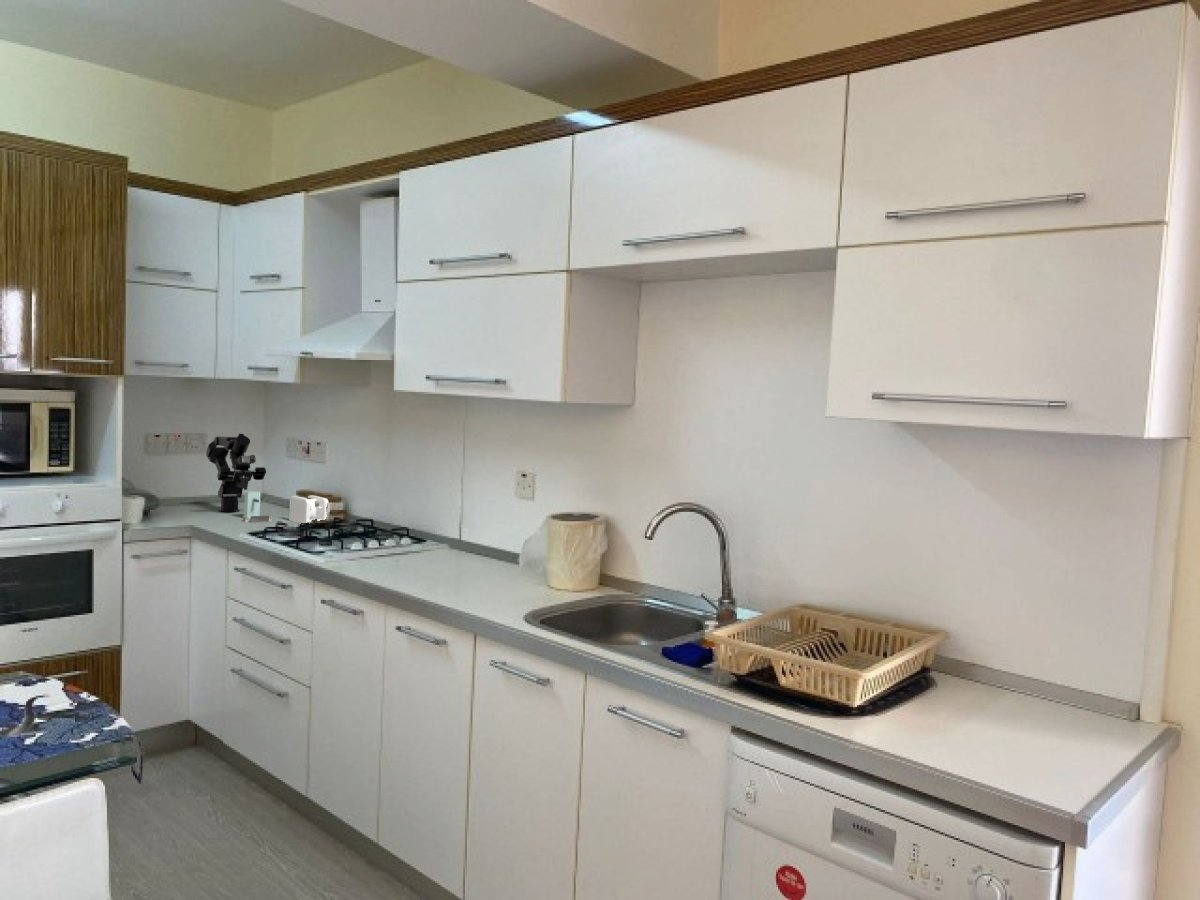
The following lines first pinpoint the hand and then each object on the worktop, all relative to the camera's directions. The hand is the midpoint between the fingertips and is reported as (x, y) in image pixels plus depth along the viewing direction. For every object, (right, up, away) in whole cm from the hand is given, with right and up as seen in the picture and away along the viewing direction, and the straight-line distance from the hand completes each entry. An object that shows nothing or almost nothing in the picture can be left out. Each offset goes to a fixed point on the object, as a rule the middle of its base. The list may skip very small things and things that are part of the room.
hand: (246, 489), depth 369 cm
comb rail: (+7, -13, -8) cm, 17 cm away
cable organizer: (+28, -15, -6) cm, 32 cm away
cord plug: (+7, -12, -8) cm, 16 cm away
